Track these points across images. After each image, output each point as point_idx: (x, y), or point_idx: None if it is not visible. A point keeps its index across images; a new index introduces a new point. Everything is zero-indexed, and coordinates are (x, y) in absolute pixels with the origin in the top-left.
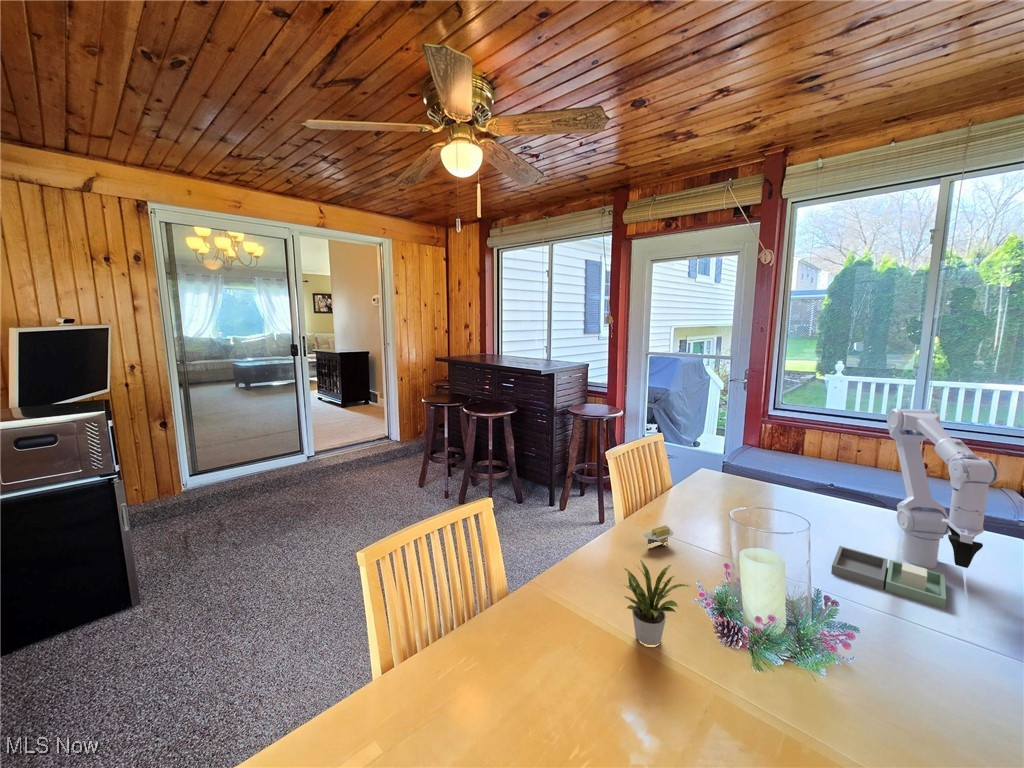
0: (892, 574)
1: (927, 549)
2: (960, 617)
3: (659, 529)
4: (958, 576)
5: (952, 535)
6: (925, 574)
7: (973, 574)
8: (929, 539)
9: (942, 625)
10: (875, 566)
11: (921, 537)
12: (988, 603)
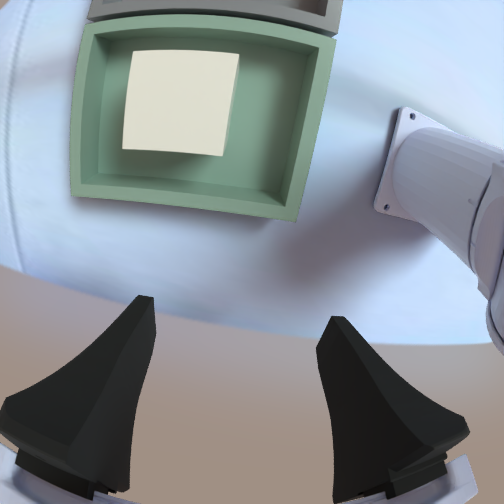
0: (262, 46)
1: (437, 209)
2: (94, 213)
3: None
4: (379, 256)
5: (69, 468)
6: (144, 143)
7: (400, 288)
8: (472, 237)
9: (31, 173)
10: (303, 5)
11: (480, 206)
12: (237, 289)
